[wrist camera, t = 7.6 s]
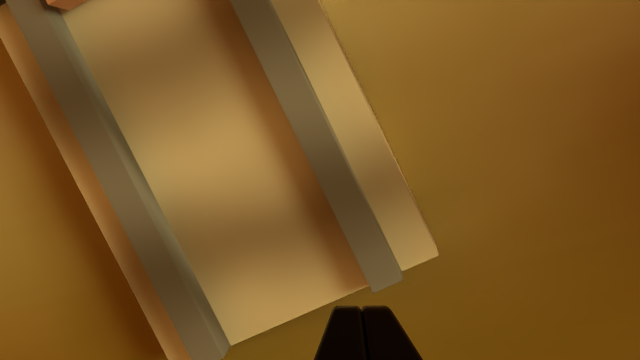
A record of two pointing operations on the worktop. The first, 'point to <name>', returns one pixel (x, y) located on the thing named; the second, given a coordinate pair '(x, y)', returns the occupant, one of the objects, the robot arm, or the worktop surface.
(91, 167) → the slider board
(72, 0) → the fader tab
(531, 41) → the worktop surface
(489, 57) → the worktop surface
